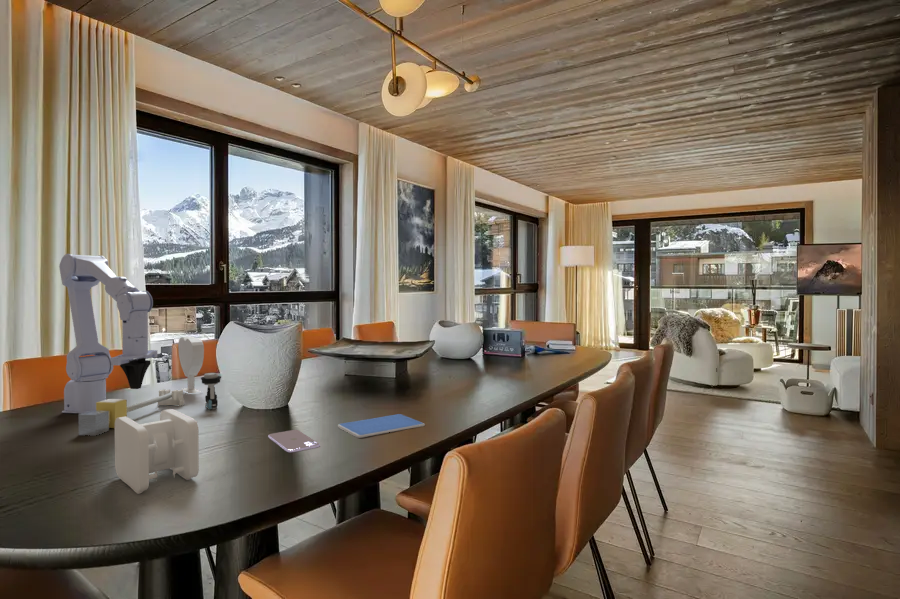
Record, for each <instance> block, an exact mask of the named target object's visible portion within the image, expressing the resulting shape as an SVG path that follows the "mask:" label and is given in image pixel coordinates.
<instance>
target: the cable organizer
mask: <svg viewBox="0 0 900 599" xmlns="http://www.w3.org/2000/svg"><path fill="white" fill-rule="evenodd" d="M199 438H200V437H199V425H198V420H197V421H196V419H195V418H193V417H191V416H189V415H187V414H184V413H183V412H180V411H178V410H176V409H173V408H169V409H168V408H167V409H162V410H161V412H160V414H159V420H158V421H157V420H156V421H151V422H146V423H141V424H140V423H138V422H137V421H134V420H133V419H132V418H130V417H128V416H127V417H126V416H125V417H119V418H116V420H115V428H114V468H115V472H116V475H117V477H118V478H119V479H121V481H122V482H123V483H125V484H126V485H127V486H128V487H130V488H131V490H132V491H133V492H135V493H136V494H137V495H140V494H143V492H144V491H147V490H148V489H149V486H150V485H149V484H150V480H155V481H156V482H157V481H158V476H159V475H158V472H161V471H165V470H171V471H172V476H173V478H174V479H175V477H176V474H178V476H180V477H181V478H183V479H185V480H186V481H190V480H192V478H196V477H197V476H198V475H199V471H200V470H199V469H200V466H199V464H200V460H199V459H200V457H199V455H200V454H199V453H200V452H199V451H200V450H199V449H200V448H199V441H200V439H199Z"/></svg>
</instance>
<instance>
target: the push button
mask: <svg viewBox="0 0 900 599" xmlns="http://www.w3.org/2000/svg"><path fill="white" fill-rule="evenodd" d="M221 378H222V376H221V375H218V373H217V372H208V373H207V372H206V373H204V374H203V376H202V377H200V380H201V384H203V385H205V386H207V391H206V395H205V397H204V399H205V403H204V405H205V406H204V408H205V409H208V408H209V409H213V410H217V407H218V402H219V401H218V396H217V393H216V390H215V389H216V388H215V385H218V384H219V383H221ZM206 406H207V407H208V408H207V407H206ZM209 409H208V410H209Z"/></svg>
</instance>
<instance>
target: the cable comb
mask: <svg viewBox="0 0 900 599" xmlns="http://www.w3.org/2000/svg"><path fill="white" fill-rule="evenodd" d="M171 392H172V397H171V398H168V399H165V400H163V401H160V402H157V406H158V405H179V406H178V407H181V406H180V405H182V406H184V405H185V398H184V393H183V390H178V389H174V390H171V389H164V388H163V389H160V390H159V391H158V397H159V396H162V395H165V394H168V393H171ZM183 404H184V405H183Z"/></svg>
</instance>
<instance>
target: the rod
mask: <svg viewBox="0 0 900 599" xmlns="http://www.w3.org/2000/svg"><path fill="white" fill-rule="evenodd" d="M168 398H172V391H170V393H168V394H165V395H162V396H159V395H158V396H157V397H153V398H150V399H147V400H144V401H141V402H139V403H136V404H132V405H127V413H130V412H132V411H136V410H138V409H141V408H144V407H148V406H151V405H154V404H158V402H160V401H163V400H165V399H168Z"/></svg>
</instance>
